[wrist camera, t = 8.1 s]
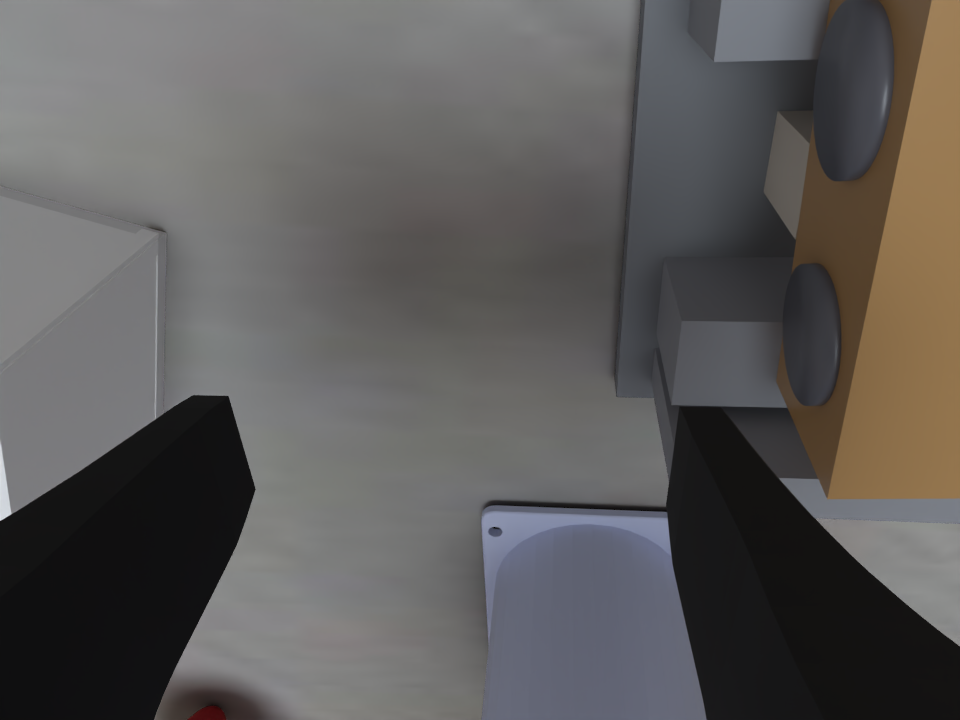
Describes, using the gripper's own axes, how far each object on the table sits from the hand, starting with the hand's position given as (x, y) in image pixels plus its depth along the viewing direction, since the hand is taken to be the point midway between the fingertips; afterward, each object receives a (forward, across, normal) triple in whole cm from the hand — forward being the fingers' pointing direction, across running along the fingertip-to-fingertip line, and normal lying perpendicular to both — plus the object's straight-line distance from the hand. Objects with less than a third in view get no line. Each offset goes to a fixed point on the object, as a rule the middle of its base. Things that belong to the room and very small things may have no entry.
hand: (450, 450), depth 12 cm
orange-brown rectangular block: (+6, -8, -2) cm, 10 cm away
